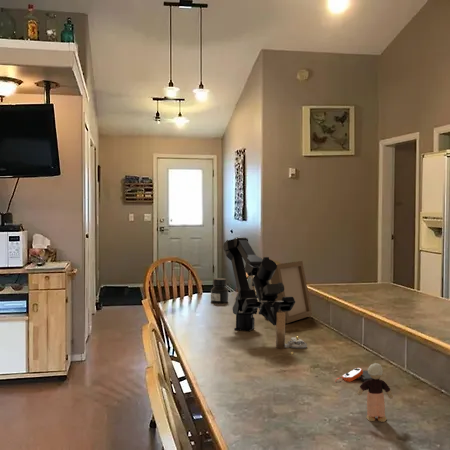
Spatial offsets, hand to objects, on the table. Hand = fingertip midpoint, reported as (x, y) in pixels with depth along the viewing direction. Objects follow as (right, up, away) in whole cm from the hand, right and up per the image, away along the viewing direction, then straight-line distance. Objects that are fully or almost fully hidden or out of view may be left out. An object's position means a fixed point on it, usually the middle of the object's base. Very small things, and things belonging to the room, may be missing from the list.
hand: (275, 324), depth 181 cm
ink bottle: (-20, -6, +90) cm, 93 cm away
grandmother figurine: (+16, -10, -62) cm, 65 cm away
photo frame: (+9, -7, +49) cm, 51 cm away
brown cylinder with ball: (+5, -7, -3) cm, 9 cm away
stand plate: (+7, -8, -2) cm, 11 cm away
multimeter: (+16, -10, -35) cm, 40 cm away
